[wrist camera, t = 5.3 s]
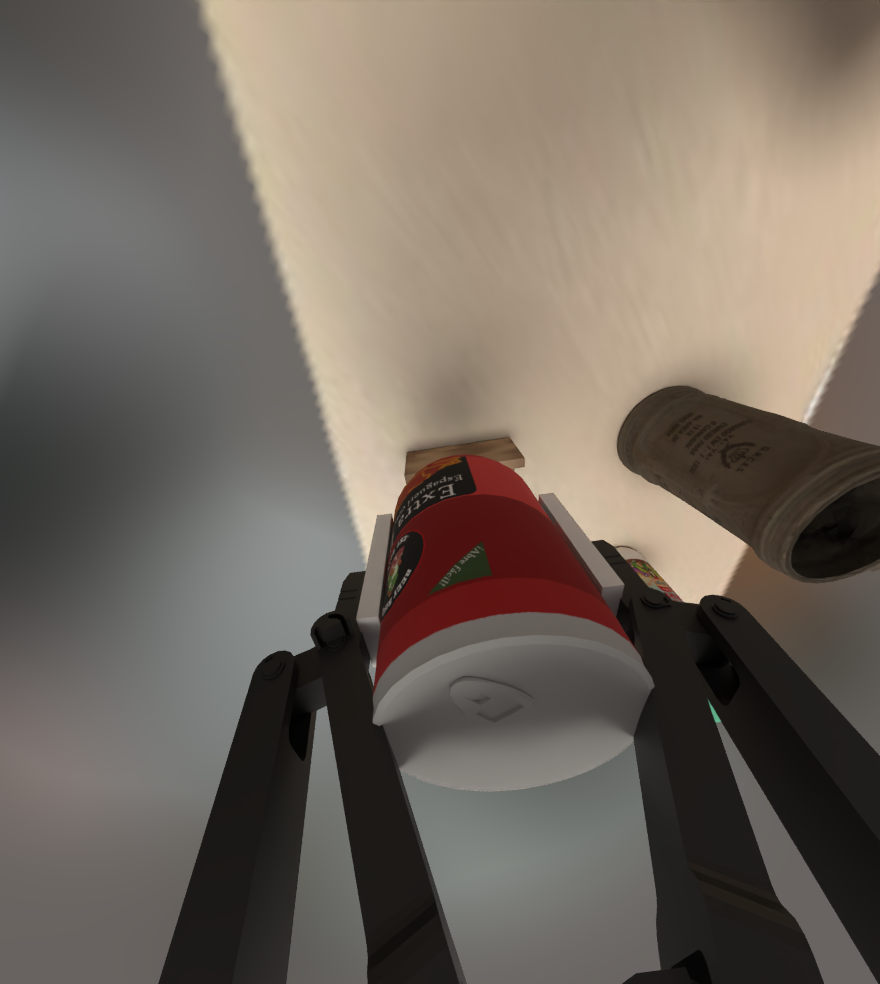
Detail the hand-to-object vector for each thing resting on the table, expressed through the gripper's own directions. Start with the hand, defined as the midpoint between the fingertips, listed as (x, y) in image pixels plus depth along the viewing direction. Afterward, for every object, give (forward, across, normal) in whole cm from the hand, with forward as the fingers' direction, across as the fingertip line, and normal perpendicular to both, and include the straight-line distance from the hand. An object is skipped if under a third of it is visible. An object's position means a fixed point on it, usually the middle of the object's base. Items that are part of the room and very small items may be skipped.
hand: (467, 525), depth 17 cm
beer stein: (+21, +28, -6) cm, 35 cm away
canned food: (+1, 0, 0) cm, 1 cm away
